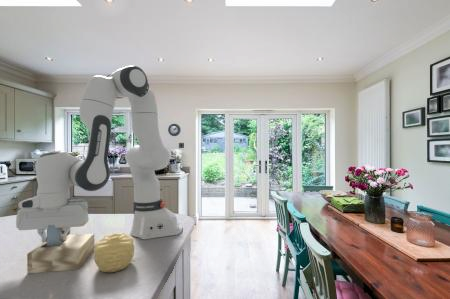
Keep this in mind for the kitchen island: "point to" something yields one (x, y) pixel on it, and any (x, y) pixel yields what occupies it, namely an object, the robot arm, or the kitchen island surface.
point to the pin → (53, 236)
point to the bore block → (61, 254)
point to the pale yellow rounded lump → (114, 252)
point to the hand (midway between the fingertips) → (54, 240)
